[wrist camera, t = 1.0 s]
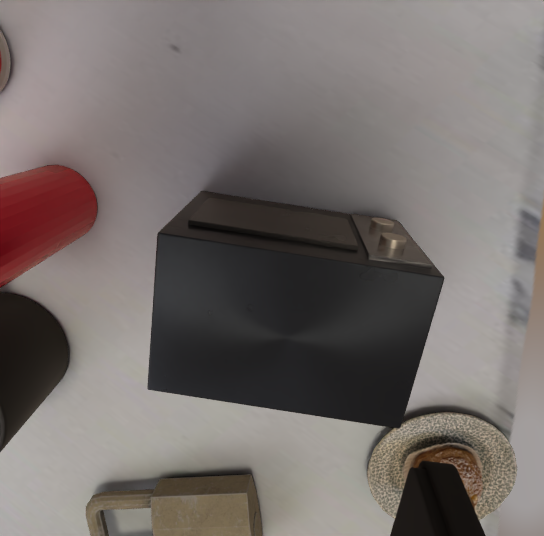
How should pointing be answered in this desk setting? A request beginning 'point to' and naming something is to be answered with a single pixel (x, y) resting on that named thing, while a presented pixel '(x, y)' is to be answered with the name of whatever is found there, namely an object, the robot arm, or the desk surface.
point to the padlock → (187, 507)
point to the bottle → (41, 216)
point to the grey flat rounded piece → (445, 459)
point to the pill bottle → (4, 61)
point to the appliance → (290, 309)
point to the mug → (27, 361)
